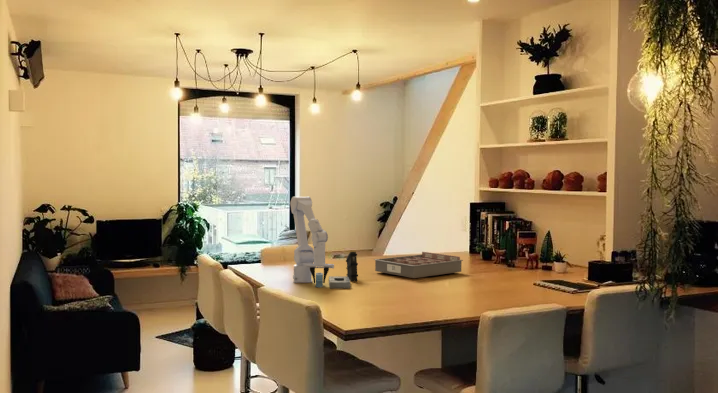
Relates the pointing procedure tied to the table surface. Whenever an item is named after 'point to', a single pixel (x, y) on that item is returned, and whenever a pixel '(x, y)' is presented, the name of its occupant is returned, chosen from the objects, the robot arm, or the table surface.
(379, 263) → the organizer tray
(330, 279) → the chassis
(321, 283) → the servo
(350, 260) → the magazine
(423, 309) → the table surface
